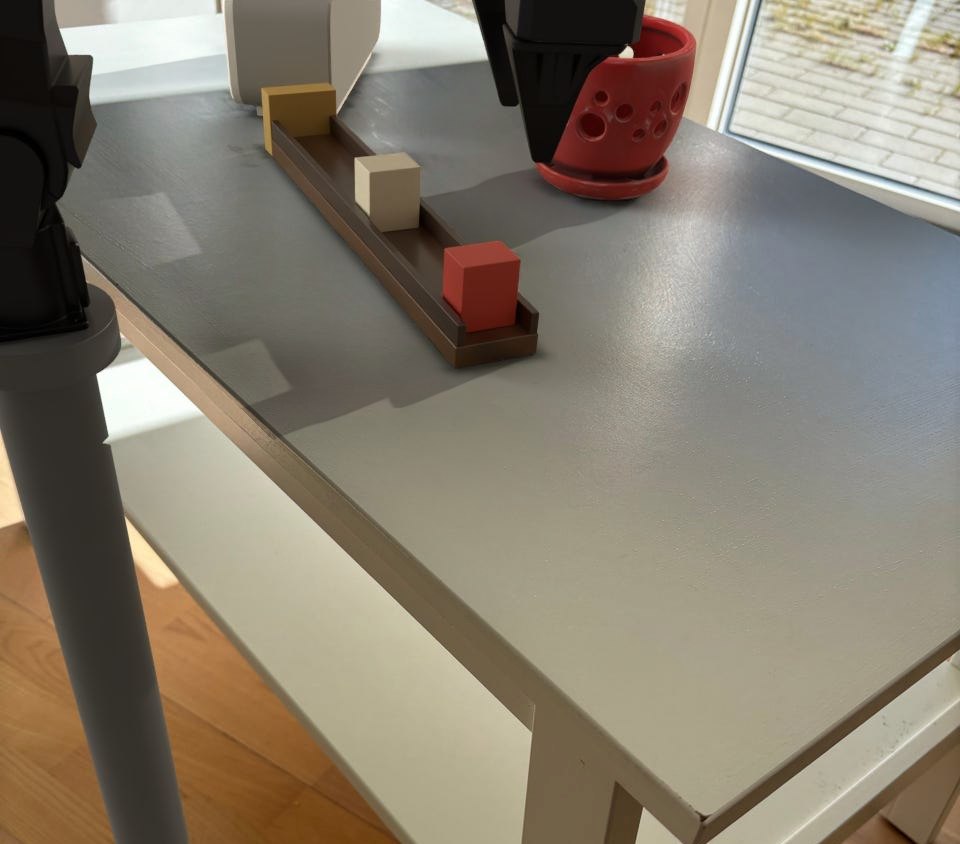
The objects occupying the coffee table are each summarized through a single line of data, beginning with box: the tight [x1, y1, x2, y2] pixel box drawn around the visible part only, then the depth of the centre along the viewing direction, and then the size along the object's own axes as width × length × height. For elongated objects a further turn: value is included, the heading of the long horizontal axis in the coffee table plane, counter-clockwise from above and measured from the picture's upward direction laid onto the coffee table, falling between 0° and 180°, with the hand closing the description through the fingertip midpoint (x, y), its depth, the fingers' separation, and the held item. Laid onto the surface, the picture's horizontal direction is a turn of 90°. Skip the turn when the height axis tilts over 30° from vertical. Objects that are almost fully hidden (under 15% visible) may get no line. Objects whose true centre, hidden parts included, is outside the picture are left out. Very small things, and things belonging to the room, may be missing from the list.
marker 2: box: [442, 240, 522, 333], centre depth 70 cm, size 4×3×4 cm
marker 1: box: [355, 151, 422, 232], centre depth 81 cm, size 4×3×4 cm
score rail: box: [271, 115, 540, 369], centre depth 82 cm, size 6×38×3 cm, turn 26°
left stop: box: [261, 83, 338, 158], centre depth 94 cm, size 6×2×5 cm, turn 116°
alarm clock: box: [222, 0, 382, 117], centre depth 105 cm, size 27×9×12 cm, turn 174°
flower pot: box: [534, 14, 697, 201], centre depth 91 cm, size 13×13×12 cm
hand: (524, 132), depth 64 cm, fingers open, 9 cm apart
